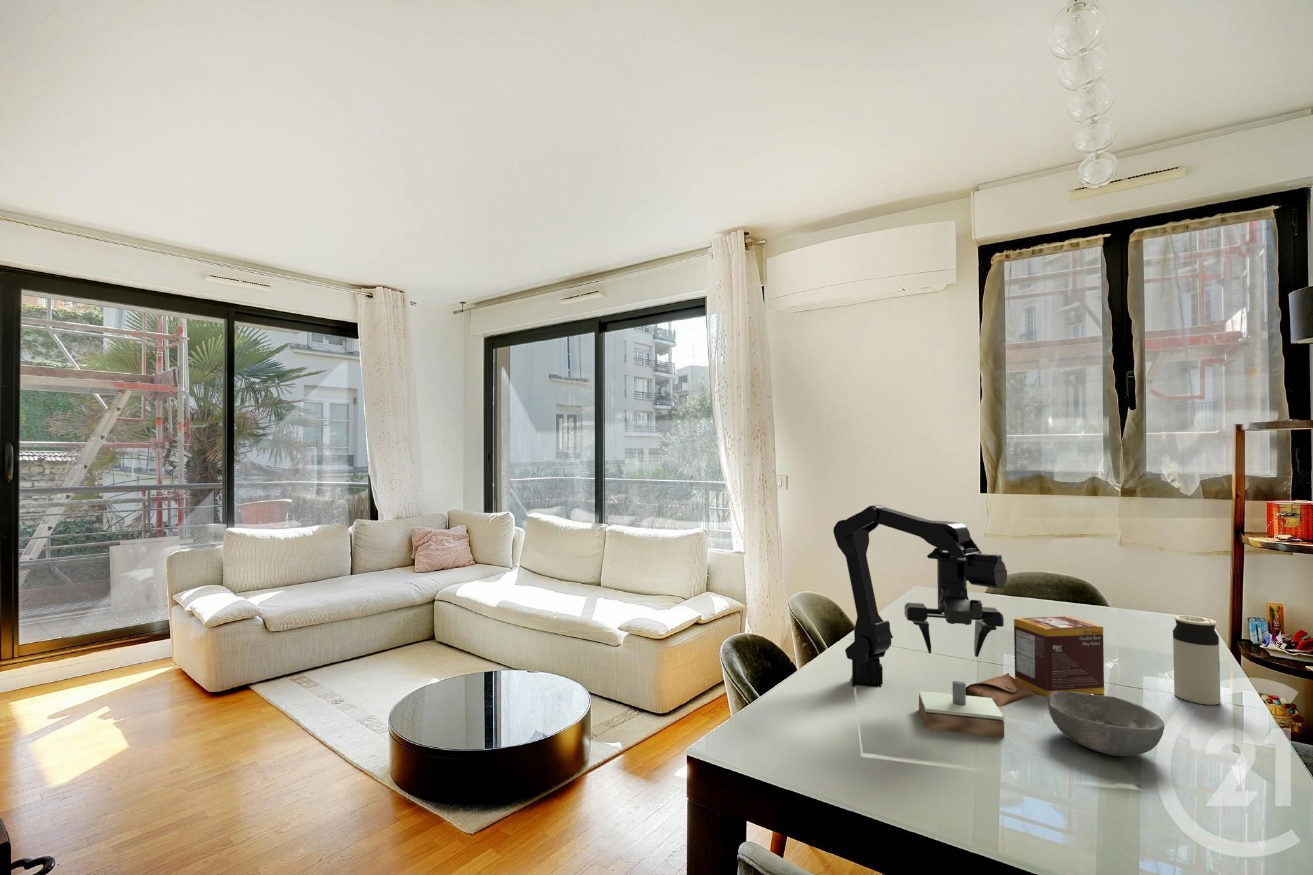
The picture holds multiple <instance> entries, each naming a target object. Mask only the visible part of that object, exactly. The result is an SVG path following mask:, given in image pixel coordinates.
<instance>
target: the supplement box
mask: <svg viewBox="0 0 1313 875" xmlns="http://www.w3.org/2000/svg"><path fill="white" fill-rule="evenodd" d="M1013 639H1014V640H1013V646H1014V679H1016V680H1017V681H1019V682H1020V683H1022V684H1023V685H1025V686H1026V687H1027V688H1029V689H1030V690H1032V691H1033V692H1035V693H1036V694H1038V695H1041V696H1043V697H1047V698H1048V697H1049V695H1050V694H1051V693H1052V692H1054V691H1058V692H1059V691H1062V692H1078V693H1085V694H1101V695H1105V668H1104V667H1105V666H1104V665H1105V661H1104V660H1105V659H1104V657H1105V656H1104V626H1100V625H1097V624H1095V623H1090V622H1087V621H1084V620H1082V619H1081V620H1080V619H1078V618H1075V617H1072V616H1068V615H1066V616H1064V615H1063V616H1047V617H1045V616H1043V617H1041V616H1039V617H1021V618H1019V617H1017V618H1014V619H1013Z"/></svg>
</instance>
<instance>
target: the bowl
mask: <svg viewBox="0 0 1313 875" xmlns="http://www.w3.org/2000/svg"><path fill="white" fill-rule="evenodd" d="M1047 705H1048V706H1047V707H1048V711H1049V716H1050V718H1051V719H1052V720H1051V721H1053V723H1054V724H1055V725H1056V727H1057V729H1058V730H1059V731H1061V733H1062V734H1064V735H1065V736H1066V738H1068V739H1069V740H1071V741H1072V742H1073V743H1076V744H1078V745H1081V746H1084V747H1085V748H1087V749H1090V750H1093V751H1096V752H1099V753H1102V754H1105V755H1109V756H1116V757H1117V756H1118V757H1134V756H1137V755H1141V754H1145V753H1148V752H1150V751H1152V750H1153V749H1154V748H1156V746H1157V745H1158V744H1159V742H1160V741H1161V739H1162V737H1163V734H1164V730H1165V722H1164V721H1163V719H1162V718H1161V716H1159V715H1158V714H1156V713H1155V712H1153V711H1152V710H1150V709H1148V708H1146V707H1144V706H1142V705H1141V704H1140V705H1139V704H1137V703H1133V702H1131V701H1128V700H1125V699H1122V698H1120V697H1116V696H1113V695H1111V696H1109V695H1091V694H1085V693H1078V692H1062V691H1059V692H1058V691H1054V692H1052V693H1051V694H1050V695H1049V697H1048V696H1047Z"/></svg>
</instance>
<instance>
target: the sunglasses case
mask: <svg viewBox="0 0 1313 875" xmlns="http://www.w3.org/2000/svg"><path fill="white" fill-rule="evenodd" d="M1040 695H1041V694H1039V693H1036V692H1034V691H1032V690H1030V689H1029V688H1027V687H1026V686H1025V685H1023V684H1022V683H1020V682H1019V681H1017V680H1016V679H1015V677H1013V676H1011V675H1010V673H1009V672H1008V673H1006V674H1004V675H1001V676H996V677H992V678H989V679H986V680H983V681H980V682H976V683H972V684H968V685H966V696H976V697H987V698H992V700H993V701H994V703H995V704H996V706H997V707H998V708H1001V707H1004V706H1007V705H1009V704H1012V703H1015V702H1018V701H1020V700H1022V699H1023V700H1024V699H1026V698H1030V697H1033V696H1038V697H1040Z"/></svg>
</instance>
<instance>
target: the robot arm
mask: <svg viewBox="0 0 1313 875" xmlns="http://www.w3.org/2000/svg"><path fill="white" fill-rule="evenodd" d="M879 525H881V526H885V527H888V528H892V529H895V530H898V531H900V532H904V533H906V534H909V535H914V536H917V537H919V538H921V539H923V540H924V541H925V542H926V543H927V544H929V545H931V546H933V547H934V549H933V550H932V551H931V552H930V553H929V554H927V555H926V558H928V559H931V560H936V561H937V562H936V563H937V564H936V566H937V568H936V570H937V572H936V573H937V608H933V607H932V608H931V607H927V606H926V605H925V604H924V603H920V602H919V603H918V602H906V603H905V604H904V616H905V618H906V619H907V621H910V622H912V623H913V625H915V626H918V628H919V630H920V632H921V635H922V638H923V641H924V644H925V645H926V646H925V647H926V649H927V651H928V654H932V642H931V635H930V623H929V622H928V620H927V619H928V618H936V619H940V618H941V619H945V621H946V623H948V624H949V625H951V624H952V625H955V624H959V625H960V624H962V625H965V626H969V625H970V626H971V625H972V623H973V622H972V621H974V622H975V624H974V640H973V642H974V643H973V645H974V647H973V649H974V650H973V651H974V656H975V658H978V657H979V655H980V652H981V650H982V647H983V644H984V642H985V640H986V637H987V636H988V634H990V632H992V631H996V630H997V628H998V627H1000V628H1001V627H1004V624H1005V623H1004V621H1005V620H1004V614H1002V613H1001V612H1000V611H999V610H998V609H997V608H995V607H989V606H985V607H984V606H983V603H982V601H981V599H969V596H968V589H967V588H968V587H967V586H968V585H967V582H968V583H969V584H970V585H972V586H978V587H985V588H991V589H997V590H1002V589H1003V588H1004V587H1005V586H1006V584H1007V580H1008V579H1007V578H1008V570H1007V568H1006V565H1005V563H1004V561H1003V556H1002V555H1001V554H995V553H994V554H987V553H982V551H981V550H980V548H979V547H978V545H977V544H976V543H975V541H974V539H973V538H972V537H971V533H970V531H969V529H968V527H967V526H966V525H965V524H963V523H961V522H956V521H946V520H945V521H944V520H932V519H927V518H923V517H919V516H917V515H912V514H909V513H907V512H903V511H898V510H896V509H892V508H889V507H885V506H884V505H881V504H877V505H869V506H867V507H866V508H863V509H862V510H861V511H860V512H857V513H855V514H853V515H851V516H850V517H847V519H841V520H838V521H837V522H836V524H835V525H834V526H833V536H834V538H835V542H836V544H837V547H838V549H839V550H840V551H841V553H842V554H843V555H844V557H845V559H846V566H847V571H848V575H849V581H850V586H851V590H852V596H853V602H854V607H855V611H856V617H857V618H856V620H855V625H854V628H853V632H854V633H853V635H854V636H853V638H854V641H853V642H852V643H851V644H850V645H848V646H847V647H846V648H845V649H844V651H845V656H846V658H847V659H848V660H851V676H850V677H851V679H850V680H851V686H852V687H856V686H862V687H872V688H882V685H883V683H884V682H883V681H884V680H883V679H884V678H883V675H884V674H883V670H884V669H883V667H884V666H883V665H882V663H881V660H880V658H883V657H885V654H886V651H888V650H889V648H890V647H891V646H892V639H893V638H894V636H893V634H892V632H891V623H890V620H885V621H884V619H883V618H882V617H881V616H880V614H879V612H878V607H877V601H876V596H875V591H874V586H873V582H872V577H871V573H870V568H869V561H868V557H867V553H868V549H869V545H870V533H871V532H872V531H874V530H875V529H877V528H878V527H879Z"/></svg>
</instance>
